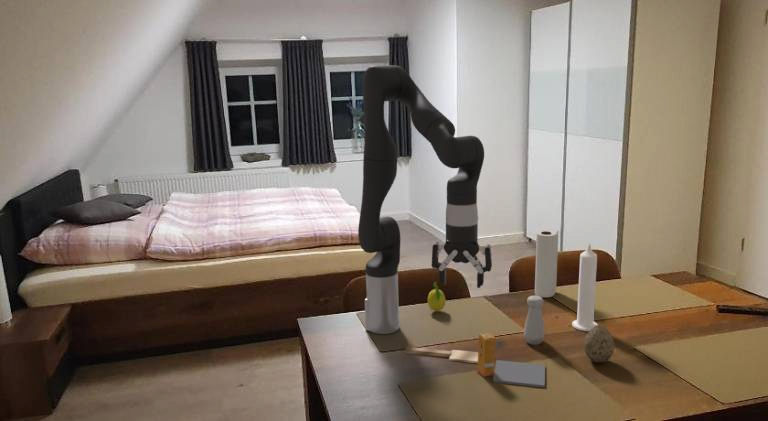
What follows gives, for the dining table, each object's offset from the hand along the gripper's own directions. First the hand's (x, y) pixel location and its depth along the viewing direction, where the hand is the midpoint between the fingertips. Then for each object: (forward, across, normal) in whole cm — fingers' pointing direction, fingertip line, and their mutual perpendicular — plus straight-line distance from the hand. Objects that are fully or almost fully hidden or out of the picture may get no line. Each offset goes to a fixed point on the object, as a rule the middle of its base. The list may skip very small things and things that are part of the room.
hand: (461, 285), depth 141 cm
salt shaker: (+22, +17, +19) cm, 34 cm away
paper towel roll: (+22, +20, +55) cm, 63 cm away
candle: (+22, +31, +32) cm, 50 cm away
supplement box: (+22, +6, -1) cm, 23 cm away
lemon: (+22, -13, +34) cm, 43 cm away
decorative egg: (+22, +33, +11) cm, 42 cm away
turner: (+22, -6, +6) cm, 24 cm away
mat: (+22, +14, 0) cm, 26 cm away
